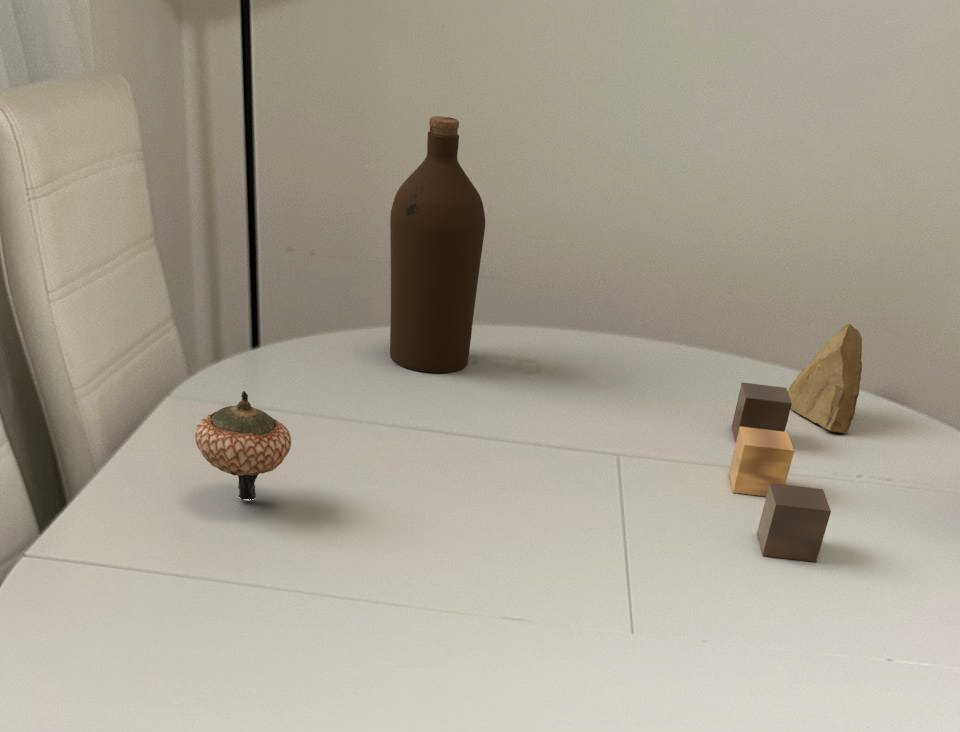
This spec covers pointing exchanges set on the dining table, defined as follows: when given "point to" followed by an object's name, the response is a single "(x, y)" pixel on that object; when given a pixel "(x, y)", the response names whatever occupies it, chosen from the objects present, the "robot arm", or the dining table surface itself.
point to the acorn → (243, 443)
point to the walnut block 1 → (761, 408)
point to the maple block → (760, 460)
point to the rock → (831, 382)
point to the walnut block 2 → (793, 522)
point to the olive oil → (435, 258)
